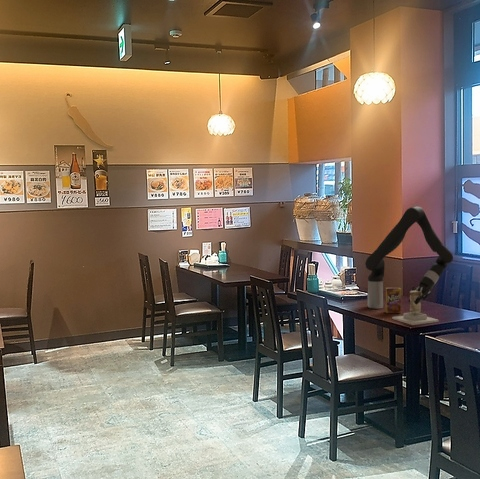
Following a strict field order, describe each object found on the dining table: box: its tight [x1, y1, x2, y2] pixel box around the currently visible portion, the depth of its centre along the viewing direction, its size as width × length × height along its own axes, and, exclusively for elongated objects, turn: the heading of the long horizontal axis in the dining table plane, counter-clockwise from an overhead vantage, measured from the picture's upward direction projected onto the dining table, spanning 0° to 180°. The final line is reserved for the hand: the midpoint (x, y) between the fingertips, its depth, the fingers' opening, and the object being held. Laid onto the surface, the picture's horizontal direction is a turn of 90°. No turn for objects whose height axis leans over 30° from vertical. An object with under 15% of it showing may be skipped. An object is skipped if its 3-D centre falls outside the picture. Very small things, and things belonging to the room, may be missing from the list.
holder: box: [391, 311, 439, 326], centre depth 332 cm, size 18×18×4 cm
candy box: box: [384, 287, 402, 314], centre depth 355 cm, size 9×4×15 cm, turn 81°
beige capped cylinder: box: [409, 290, 422, 313], centre depth 331 cm, size 4×4×12 cm
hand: (412, 302), depth 330 cm, fingers closed on beige capped cylinder, 4 cm apart
